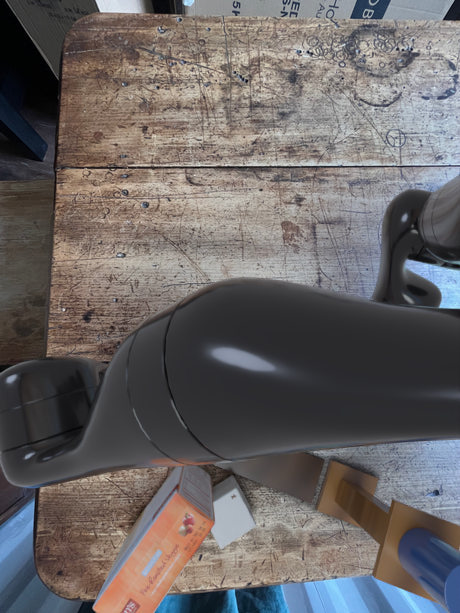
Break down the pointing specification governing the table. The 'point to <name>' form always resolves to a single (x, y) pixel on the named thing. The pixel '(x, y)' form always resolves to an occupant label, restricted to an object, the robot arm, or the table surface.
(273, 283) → the robot arm
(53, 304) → the table surface
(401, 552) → the blue plastic cylinder
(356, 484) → the stand
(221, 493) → the product box
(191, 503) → the cracker box
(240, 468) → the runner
